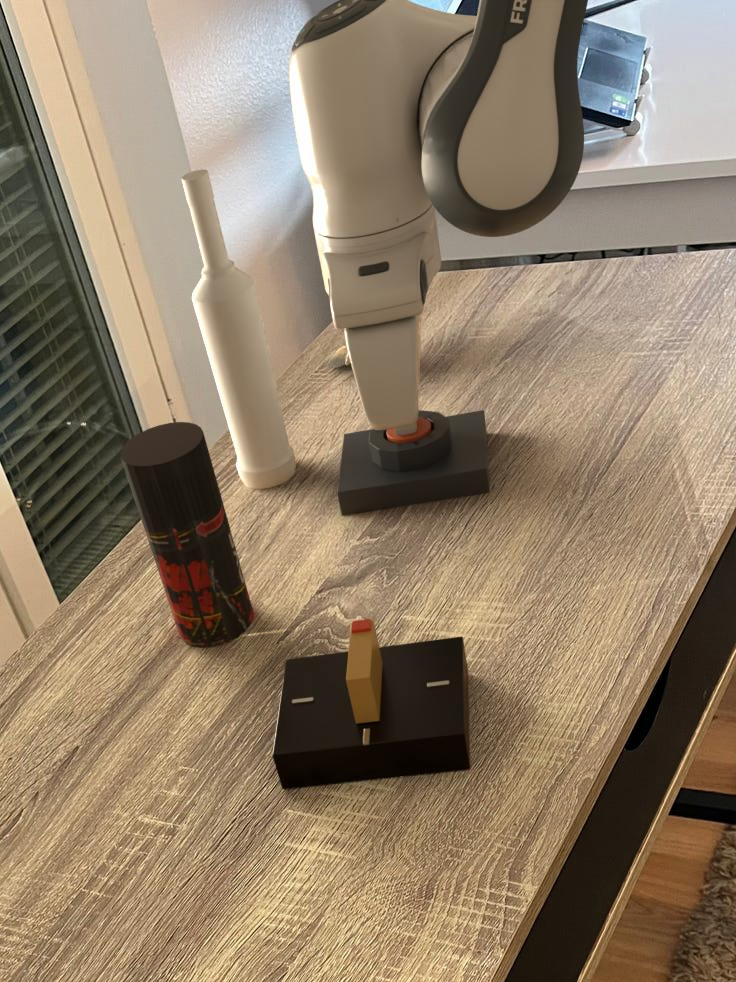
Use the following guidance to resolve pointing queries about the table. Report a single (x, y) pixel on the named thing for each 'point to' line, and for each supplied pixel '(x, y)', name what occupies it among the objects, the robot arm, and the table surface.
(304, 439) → the table surface
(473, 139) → the robot arm
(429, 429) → the bell button
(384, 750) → the black flat block
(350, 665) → the lock knob
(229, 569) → the deodorant
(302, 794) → the table surface
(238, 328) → the bottle
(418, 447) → the bell box
